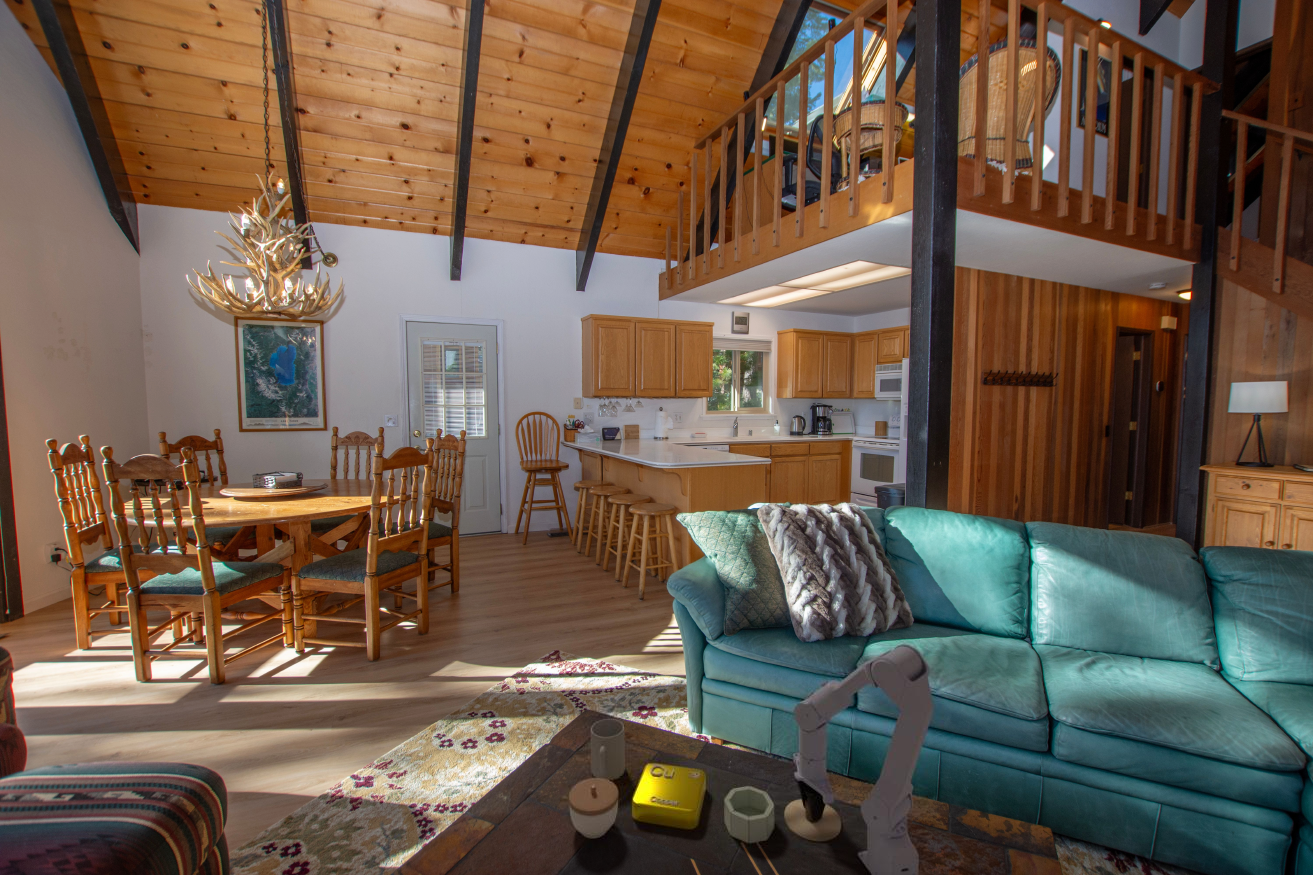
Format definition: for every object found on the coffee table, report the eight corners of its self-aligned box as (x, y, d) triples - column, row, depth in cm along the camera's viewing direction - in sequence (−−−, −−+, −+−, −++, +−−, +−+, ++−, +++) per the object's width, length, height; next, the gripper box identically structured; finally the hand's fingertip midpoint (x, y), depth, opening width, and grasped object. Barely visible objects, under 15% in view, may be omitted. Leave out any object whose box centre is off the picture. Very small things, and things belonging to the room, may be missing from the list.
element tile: (629, 821, 125) (629, 800, 124) (646, 777, 139) (646, 758, 139) (696, 832, 121) (696, 811, 121) (707, 786, 136) (706, 767, 135)
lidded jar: (611, 850, 116) (610, 806, 116) (562, 842, 118) (561, 799, 118) (624, 813, 127) (623, 773, 126) (579, 807, 129) (578, 767, 128)
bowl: (780, 837, 119) (780, 814, 119) (735, 845, 117) (735, 822, 116) (761, 804, 129) (761, 783, 128) (719, 812, 126) (719, 790, 126)
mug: (595, 758, 146) (594, 717, 146) (627, 760, 145) (627, 719, 145) (584, 789, 135) (583, 745, 134) (619, 791, 134) (618, 747, 133)
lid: (852, 836, 119) (852, 816, 119) (800, 846, 117) (800, 826, 116) (823, 798, 131) (823, 780, 131) (775, 806, 128) (775, 788, 128)
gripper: (781, 736, 129) (781, 793, 130) (811, 776, 115) (811, 840, 116) (809, 732, 131) (809, 788, 131) (843, 771, 117) (842, 834, 117)
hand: (812, 812), depth 124 cm, fingers closed on lid, 3 cm apart
